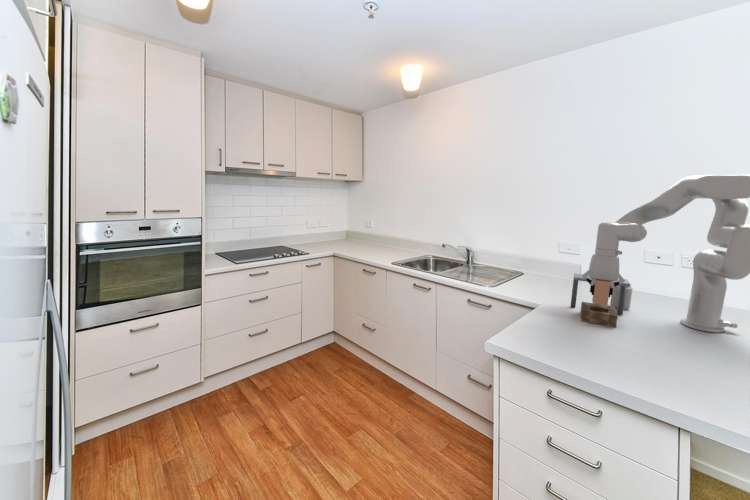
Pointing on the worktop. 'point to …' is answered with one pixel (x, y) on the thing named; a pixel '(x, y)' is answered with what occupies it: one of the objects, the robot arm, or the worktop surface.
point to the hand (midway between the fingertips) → (600, 294)
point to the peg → (601, 292)
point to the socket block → (598, 314)
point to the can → (616, 295)
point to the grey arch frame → (579, 278)
